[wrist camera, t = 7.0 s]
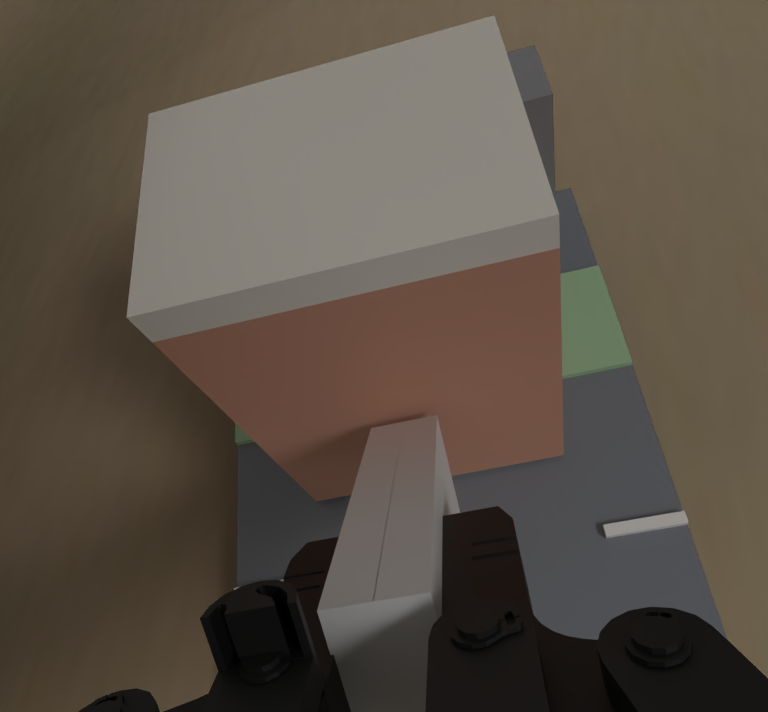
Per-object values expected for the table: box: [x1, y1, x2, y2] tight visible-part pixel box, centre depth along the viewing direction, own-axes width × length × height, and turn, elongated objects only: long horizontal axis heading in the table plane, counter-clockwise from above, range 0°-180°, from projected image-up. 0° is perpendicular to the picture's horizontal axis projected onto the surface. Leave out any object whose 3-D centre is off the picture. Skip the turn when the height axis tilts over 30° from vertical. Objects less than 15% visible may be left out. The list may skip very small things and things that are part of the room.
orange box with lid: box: [126, 16, 564, 502], centre depth 16 cm, size 7×5×10 cm
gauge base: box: [234, 45, 727, 640], centre depth 17 cm, size 12×19×7 cm, turn 7°
